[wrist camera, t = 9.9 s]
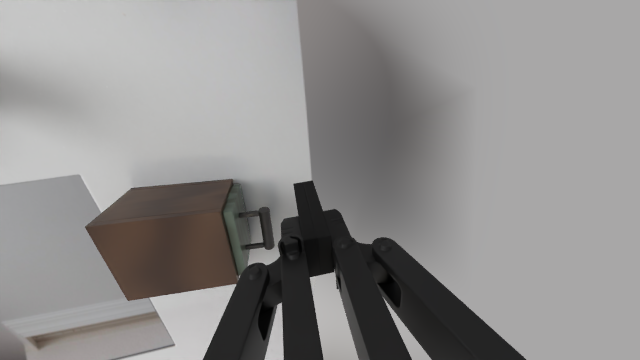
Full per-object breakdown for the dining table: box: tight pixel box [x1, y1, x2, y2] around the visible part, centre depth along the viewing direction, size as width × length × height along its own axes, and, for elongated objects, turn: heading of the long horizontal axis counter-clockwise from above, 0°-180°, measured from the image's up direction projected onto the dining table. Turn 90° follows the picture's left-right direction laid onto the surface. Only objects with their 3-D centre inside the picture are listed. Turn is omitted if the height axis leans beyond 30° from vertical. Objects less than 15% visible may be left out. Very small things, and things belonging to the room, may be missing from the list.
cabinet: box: [85, 179, 239, 301], centre depth 34 cm, size 15×13×10 cm
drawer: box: [222, 184, 275, 276], centre depth 35 cm, size 18×11×8 cm, turn 91°
